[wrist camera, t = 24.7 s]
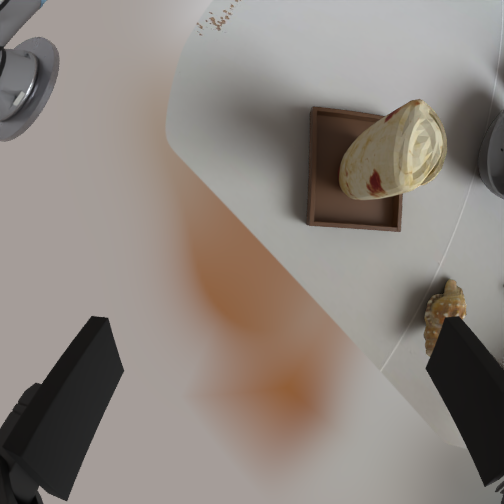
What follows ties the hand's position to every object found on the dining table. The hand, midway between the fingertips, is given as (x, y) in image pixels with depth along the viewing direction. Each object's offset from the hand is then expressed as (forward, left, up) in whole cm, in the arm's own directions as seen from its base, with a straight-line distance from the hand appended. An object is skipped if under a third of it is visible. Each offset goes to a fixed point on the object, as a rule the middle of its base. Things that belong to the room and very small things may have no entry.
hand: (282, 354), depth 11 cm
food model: (+12, +11, -32) cm, 36 cm away
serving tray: (+12, +12, -32) cm, 36 cm away
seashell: (+29, -9, -33) cm, 44 cm away
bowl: (+41, +20, -33) cm, 56 cm away
